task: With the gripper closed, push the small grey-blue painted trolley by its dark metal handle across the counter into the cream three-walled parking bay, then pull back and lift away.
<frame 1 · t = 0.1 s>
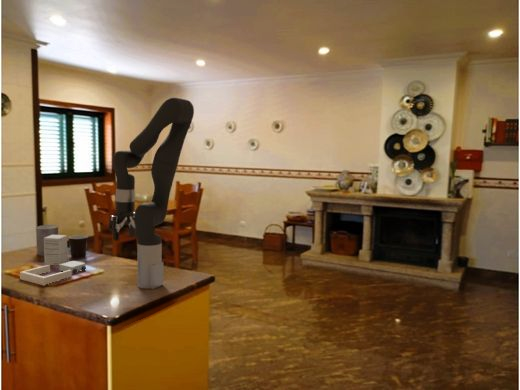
hand: (124, 238, 169), 17 cm above the countertop, tool pointing down, fingers open, 8 cm apart
coffee mug: (79, 256, 204), on the countertop
supplement box: (56, 263, 191), on the countertop
parking bay: (45, 278, 169), on the countertop
pillar candle: (48, 253, 207), on the countertop
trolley: (72, 270, 181), on the countertop
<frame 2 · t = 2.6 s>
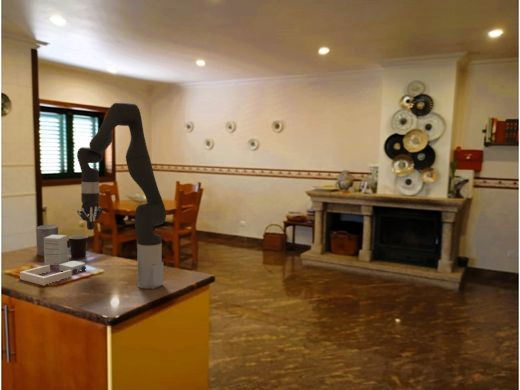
hand: (90, 229, 188), 17 cm above the countertop, tool pointing down, fingers closed
nothing on the countertop moved.
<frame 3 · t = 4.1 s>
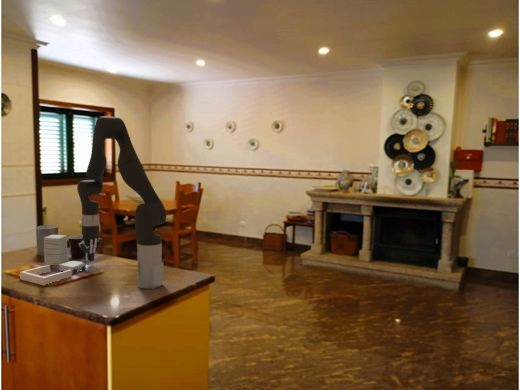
hand: (90, 260, 189), 2 cm above the countertop, tool pointing down, fingers closed
nothing on the countertop moved.
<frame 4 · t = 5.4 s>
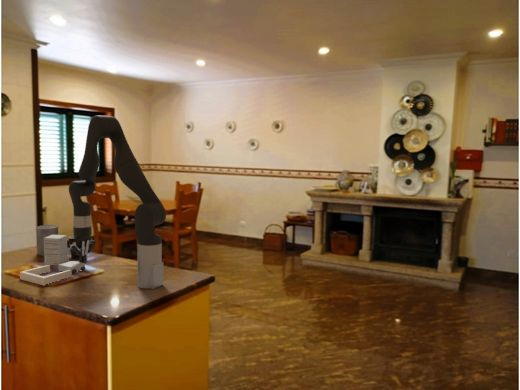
hand: (83, 263, 185), 2 cm above the countertop, tool pointing down, fingers closed
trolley: (71, 270, 180), on the countertop, touching gripper
everything else where it was.
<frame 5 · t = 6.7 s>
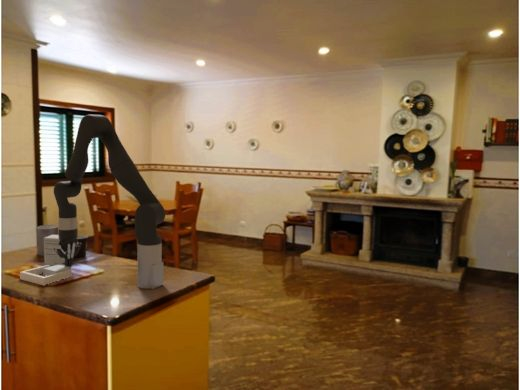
hand: (68, 266, 179), 2 cm above the countertop, tool pointing down, fingers closed
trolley: (57, 274, 174), on the countertop, touching gripper
everything else where it was.
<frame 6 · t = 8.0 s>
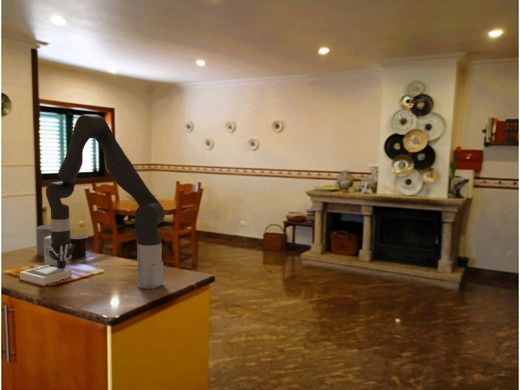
hand: (61, 268, 176), 2 cm above the countertop, tool pointing down, fingers closed
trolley: (49, 277, 171), on the countertop, touching gripper
everything else where it was.
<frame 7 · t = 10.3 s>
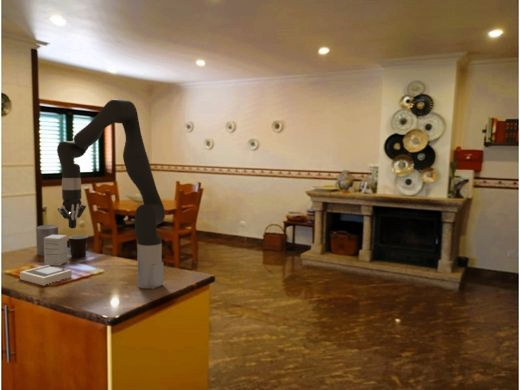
hand: (72, 228, 178), 19 cm above the countertop, tool pointing down, fingers closed
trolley: (49, 277, 171), on the countertop
everything else where it was.
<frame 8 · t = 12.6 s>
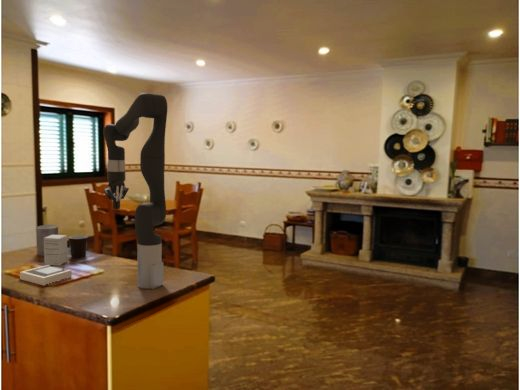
hand: (116, 209, 183), 27 cm above the countertop, tool pointing down, fingers closed
nothing on the countertop moved.
at the end: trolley inside the target area (1.6 cm from its centre), on the countertop; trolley tilted 0°; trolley moved 11.2 cm from its start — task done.
